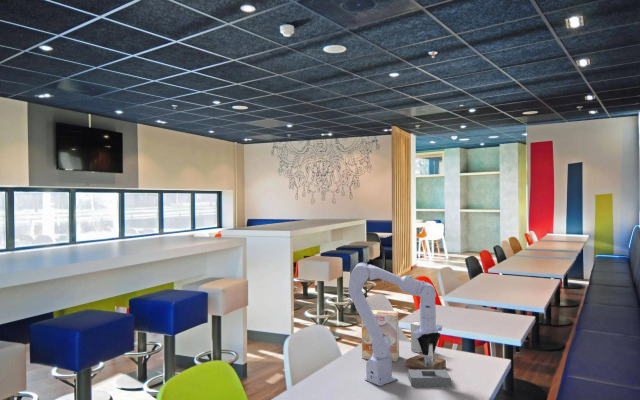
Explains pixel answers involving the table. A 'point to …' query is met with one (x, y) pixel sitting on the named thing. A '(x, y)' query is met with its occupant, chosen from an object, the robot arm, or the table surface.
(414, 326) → the skincare box
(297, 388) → the table surface
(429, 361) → the metal axle
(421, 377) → the bored beam
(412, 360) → the walnut seat block
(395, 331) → the coffeecake box
